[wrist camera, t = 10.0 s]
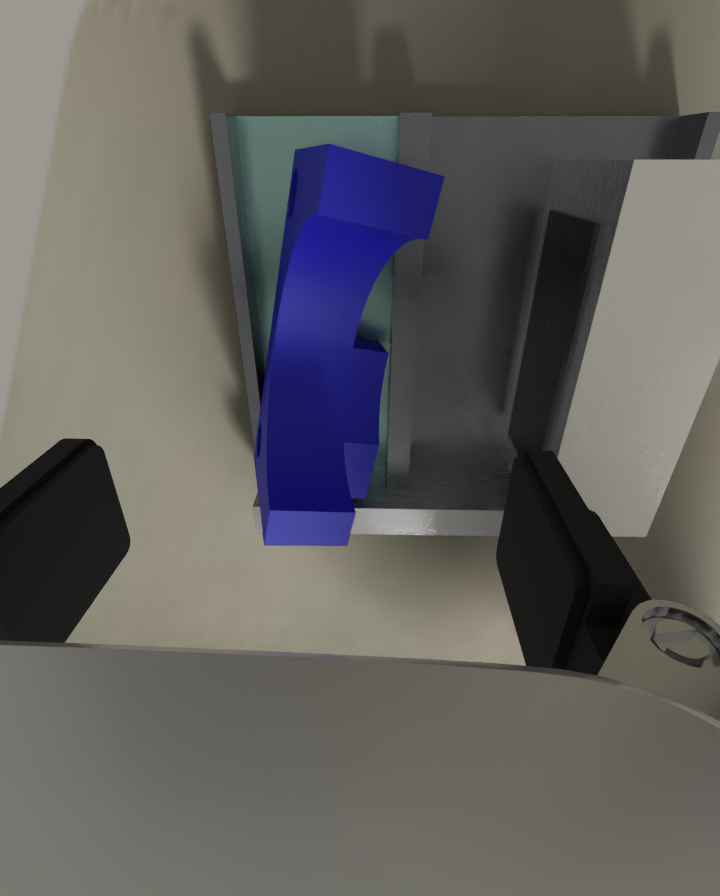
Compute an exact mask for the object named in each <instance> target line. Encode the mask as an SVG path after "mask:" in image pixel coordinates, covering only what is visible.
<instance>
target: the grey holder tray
mask: <svg viewBox="0 0 720 896" xmlns="http://www.w3.org/2000/svg"><path fill="white" fill-rule="evenodd" d="M209 115H210V122H211V130H212V137H213V145H214V152H215V159H216V167H217V174H218V182H219V189H220V197H221V204H222V212H223V219H224V226H225V234H226V241H227V249H228V256H229V264H230V271H231V278H232V286H233V293H234V301H235V308H236V316H237V323H238V330H239V338H240V345H241V353H242V360H243V368H244V375H245V382H246V390H247V397H248V405H249V412H250V420H251V427H252V435H253V442H254V449H255V444H256V437H257V429H258V422H259V414H260V407H261V399H262V392H263V384H264V377H265V369H266V362H267V355H268V347H269V340H270V332H271V325H272V317H273V310H274V302H275V295H276V287H277V280H278V272H279V265H280V257H281V250H282V243H283V235H284V228H285V220H286V213H287V205H288V198H289V190H290V183H291V175H292V168H293V160H294V153H295V150H296V149H301V148H307V147H313V146H318V145H324V144H332V145H336V146H339V147H343V148H346V149H350V150H353V151H357V152H361V153H364V154H368V155H371V156H375V157H378V158H382V159H385V160H389V161H392V162H396V163H399V164H403V165H406V166H410V167H414V168H417V169H421V170H424V171H428V172H431V173H435V174H438V175H442V176H445V178H444V182H443V185H442V189H441V193H440V197H439V200H438V204H437V208H436V212H435V215H434V219H433V223H432V227H431V231H430V234H429V238H428V240H425V239H414V240H412V241H409V242H407V243H406V244H404V245H402V246H401V247H400V248H399V249H398V250H397V251H396V252H395V253H394V254H393V255H392V256H391V257H390V258H389V260H388V261H387V263H386V264H385V266H384V267H383V269H382V270H381V272H380V274H379V275H378V277H377V279H376V281H375V283H374V285H373V287H372V290H371V292H370V294H369V297H368V299H367V302H366V304H365V307H364V310H363V313H362V316H361V319H360V322H359V326H358V329H357V333H356V337H355V338H359V339H366V340H373V341H378V342H379V343H380V344H381V345H382V346H383V347H384V348H385V349H386V351H387V352H388V353H389V354H388V358H387V363H386V368H385V373H384V378H383V385H382V392H381V401H380V415H379V449H378V452H377V456H376V460H375V463H374V467H373V471H372V474H371V478H370V482H369V486H368V489H367V493H366V497H365V499H359V498H351V499H352V503H353V506H354V509H355V512H356V514H355V518H354V521H353V525H352V529H351V533H350V534H380V535H441V536H499V535H500V529H501V524H502V519H503V513H504V508H505V503H506V497H507V492H508V487H509V481H510V476H511V471H512V465H513V461H514V458H515V457H516V456H522V455H523V453H524V451H525V450H539V451H553V452H554V453H555V455H556V457H557V458H558V460H559V462H560V463H561V465H562V467H563V468H564V470H565V471H566V473H567V475H568V476H569V478H570V480H571V481H572V483H573V484H574V486H575V488H576V489H577V491H578V493H579V494H580V496H581V497H582V499H583V501H584V502H585V504H586V506H587V507H588V509H589V510H592V511H594V512H596V514H597V515H598V516H599V517H600V519H601V520H602V522H603V524H604V525H605V527H606V528H607V530H608V531H609V533H610V535H611V536H612V537H646V536H647V533H648V531H649V529H650V526H651V524H652V521H653V519H654V516H655V514H656V512H657V509H658V507H659V504H660V502H661V500H662V497H663V495H664V492H665V490H666V488H667V485H668V483H669V480H670V478H671V475H672V473H673V471H674V468H675V466H676V463H677V461H678V459H679V456H680V454H681V451H682V449H683V446H684V444H685V442H686V439H687V437H688V434H689V432H690V430H691V427H692V425H693V422H694V420H695V417H696V415H697V413H698V410H699V408H700V405H701V403H702V401H703V398H704V396H705V393H706V391H707V388H708V386H709V384H710V381H711V379H712V376H713V374H714V372H715V369H716V367H717V364H718V362H719V360H720V160H710V158H711V155H712V152H713V149H714V146H715V143H716V140H717V137H718V134H719V131H720V112H706V113H699V114H692V115H685V116H432V112H400V114H399V116H234V115H231V114H228V113H209ZM253 512H254V519H255V526H256V532H259V533H263V531H262V522H261V513H260V505H259V496H258V493H257V496H256V499H255V502H254V504H253Z"/></svg>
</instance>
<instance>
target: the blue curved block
mask: <svg viewBox="0 0 720 896" xmlns="http://www.w3.org/2000/svg"><path fill="white" fill-rule="evenodd" d="M444 178H445V176H442V175H438V174H435V173H431V172H428V171H424V170H421V169H417V168H414V167H410V166H406V165H403V164H399V163H396V162H392V161H389V160H385V159H382V158H378V157H375V156H371V155H368V154H364V153H361V152H357V151H353V150H350V149H346V148H343V147H339V146H336V145H332V144H324V145H318V146H313V147H307V148H301V149H296V150H295V153H294V160H293V168H292V175H291V183H290V190H289V198H288V205H287V213H286V220H285V228H284V235H283V243H282V250H281V257H280V265H279V272H278V280H277V287H276V295H275V302H274V310H273V317H272V325H271V332H270V340H269V347H268V355H267V362H266V369H265V377H264V384H263V392H262V399H261V407H260V414H259V422H258V429H257V437H256V444H255V452H254V461H255V470H256V479H257V487H258V496H259V505H260V513H261V522H262V531H263V539H264V545H320V546H347V544H348V540H349V537H350V533H351V529H352V525H353V521H354V518H355V514H356V512H355V509H354V506H353V503H352V499H351V498H359V499H365V497H366V493H367V489H368V486H369V482H370V478H371V474H372V471H373V467H374V463H375V460H376V456H377V452H378V449H379V415H380V401H381V392H382V385H383V378H384V373H385V368H386V363H387V358H388V354H389V353H388V352H387V351H386V349H385V348H384V347H383V346H382V345H381V344H380V343H379V342H378V341H373V340H366V339H359V338H355V337H356V333H357V329H358V326H359V322H360V319H361V316H362V313H363V310H364V307H365V304H366V302H367V299H368V297H369V294H370V292H371V290H372V287H373V285H374V283H375V281H376V279H377V277H378V275H379V274H380V272H381V270H382V269H383V267H384V266H385V264H386V263H387V261H388V260H389V258H390V257H391V256H392V255H393V254H394V253H395V252H396V251H397V250H398V249H399V248H400V247H401V246H402V245H404V244H406V243H407V242H409V241H412V240H414V239H425V240H428V238H429V234H430V231H431V227H432V223H433V219H434V215H435V212H436V208H437V204H438V200H439V197H440V193H441V189H442V185H443V182H444Z"/></svg>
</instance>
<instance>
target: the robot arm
mask: <svg viewBox="0 0 720 896" xmlns="http://www.w3.org/2000/svg"><path fill="white" fill-rule="evenodd" d="M129 547H130V535H129V532H128V529H127V525H126V522H125V519H124V516H123V512H122V509H121V506H120V502H119V499H118V496H117V493H116V489H115V486H114V483H113V479H112V476H111V473H110V469H109V466H108V463H107V460H106V456H105V453H104V450H103V449H102V447H100V446H97V445H96V443H95V442H94V441H93V440H91V439H62V440H60V441H59V442H58V443H56V444H55V445H54V446H53V447H51V448H50V449H49V450H48V451H46V452H45V453H44V454H43V455H41V456H40V457H39V458H38V459H36V460H35V461H34V462H33V463H31V464H30V465H29V466H28V467H26V468H25V469H24V470H23V471H21V472H20V473H19V474H18V475H16V476H15V477H14V478H13V479H11V480H10V481H9V482H8V483H6V484H5V485H4V486H3V487H1V488H0V896H720V625H719V624H718V623H716V622H715V621H714V620H713V619H711V618H710V617H708V616H707V615H705V614H703V613H701V612H700V611H698V610H696V609H694V608H692V607H689V606H686V605H684V604H681V603H678V602H673V601H668V600H652V599H651V598H650V596H649V595H648V593H647V592H646V590H645V588H644V587H643V585H642V584H641V582H640V580H639V579H638V577H637V576H636V574H635V573H634V571H633V569H632V568H631V566H630V565H629V563H628V561H627V560H626V558H625V557H624V555H623V554H622V552H621V550H620V549H619V547H618V546H617V544H616V542H615V541H614V539H613V538H612V536H611V535H610V533H609V531H608V530H607V528H606V527H605V525H604V524H603V522H602V520H601V519H600V517H599V516H598V515H597V514H596V512H594V511H592V510H589V509H588V507H587V506H586V504H585V502H584V501H583V499H582V497H581V496H580V494H579V493H578V491H577V489H576V488H575V486H574V484H573V483H572V481H571V480H570V478H569V476H568V475H567V473H566V471H565V470H564V468H563V467H562V465H561V463H560V462H559V460H558V458H557V457H556V455H555V453H554V452H553V451H539V450H525V451H524V453H523V455H522V456H516V457H515V458H514V461H513V465H512V471H511V476H510V481H509V487H508V492H507V497H506V503H505V508H504V513H503V519H502V524H501V529H500V535H499V540H498V545H497V553H496V557H497V565H498V569H499V573H500V576H501V580H502V583H503V586H504V590H505V593H506V597H507V600H508V604H509V607H510V611H511V614H512V618H513V621H514V625H515V628H516V632H517V635H518V639H519V642H520V646H521V649H522V652H523V656H524V659H525V663H526V666H521V665H511V664H497V663H484V662H466V661H449V660H433V659H415V658H395V657H375V656H354V655H334V654H314V653H293V652H271V651H249V650H226V649H204V648H180V647H157V646H133V645H107V644H81V643H65V641H66V640H67V638H68V637H69V636H70V634H71V633H72V631H73V630H74V628H75V627H76V625H77V624H78V623H79V621H80V620H81V618H82V617H83V615H84V614H85V613H86V611H87V610H88V608H89V607H90V605H91V604H92V603H93V601H94V600H95V598H96V597H97V595H98V594H99V592H100V591H101V590H102V588H103V587H104V585H105V584H106V582H107V581H108V580H109V578H110V577H111V575H112V574H113V572H114V571H115V569H116V568H117V567H118V565H119V564H120V562H121V561H122V559H123V558H124V557H125V555H126V554H127V552H128V550H129Z"/></svg>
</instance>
